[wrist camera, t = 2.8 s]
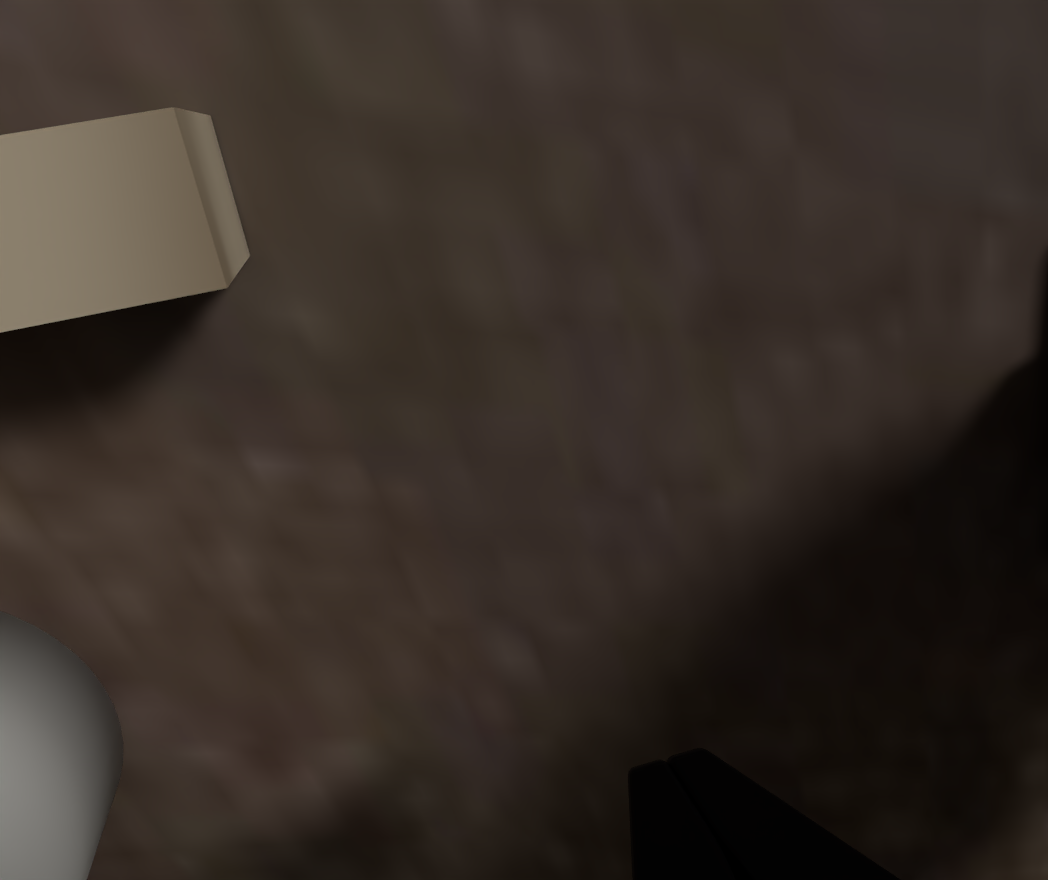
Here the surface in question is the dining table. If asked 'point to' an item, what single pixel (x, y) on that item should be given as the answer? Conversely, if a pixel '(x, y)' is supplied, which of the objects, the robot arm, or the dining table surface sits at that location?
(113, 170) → the oak rail
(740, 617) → the dining table surface
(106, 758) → the grey egg-shaped dome
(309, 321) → the dining table surface
